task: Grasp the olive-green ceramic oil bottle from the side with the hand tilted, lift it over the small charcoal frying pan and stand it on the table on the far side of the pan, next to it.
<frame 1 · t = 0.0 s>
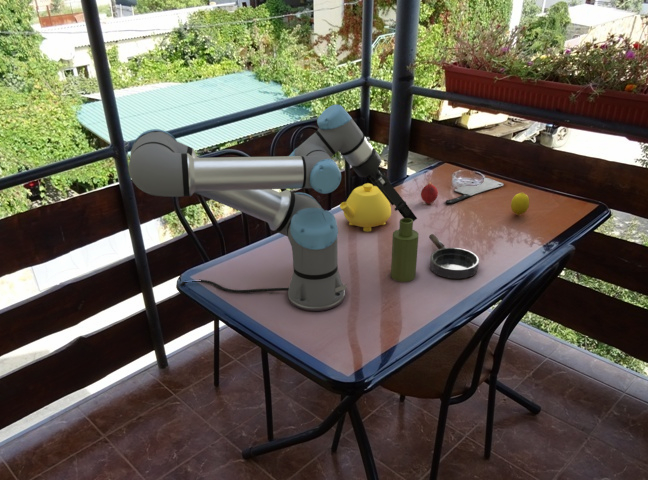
hand: (404, 211, 157), 15 cm above the table, tool tilted 35°, fingers open, 13 cm apart
onion: (428, 204, 198), on the table
pan: (453, 268, 159), on the table
oil bottle: (403, 275, 157), on the table
teapot: (362, 226, 186), on the table
lemon: (517, 215, 186), on the table
cleaver: (468, 191, 205), on the table
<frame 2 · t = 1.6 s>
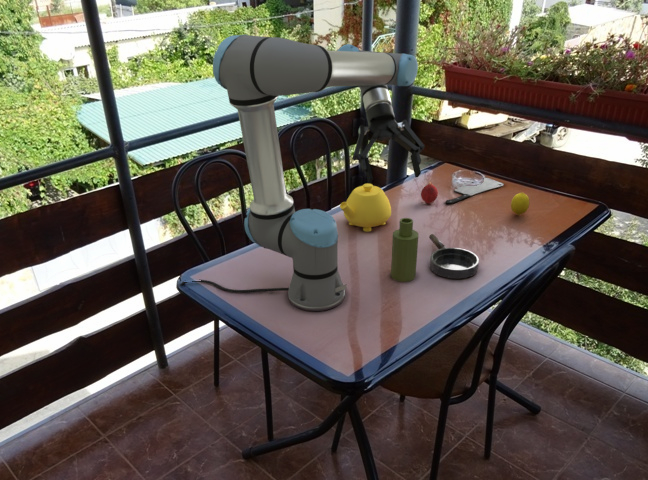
hand: (394, 178, 153), 25 cm above the table, tool tilted 45°, fingers open, 13 cm apart
nothing on the table moved.
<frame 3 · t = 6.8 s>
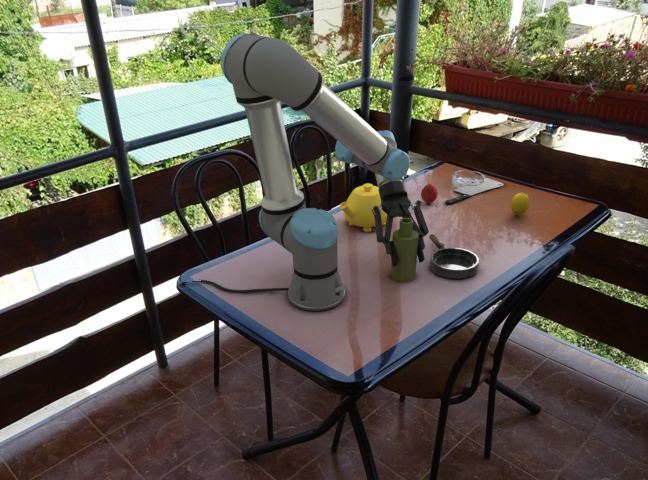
hand: (408, 263, 151), 6 cm above the table, tool tilted 45°, fingers closed on oil bottle, 7 cm apart
oil bottle: (403, 275, 157), on the table, touching gripper
everything else where it was.
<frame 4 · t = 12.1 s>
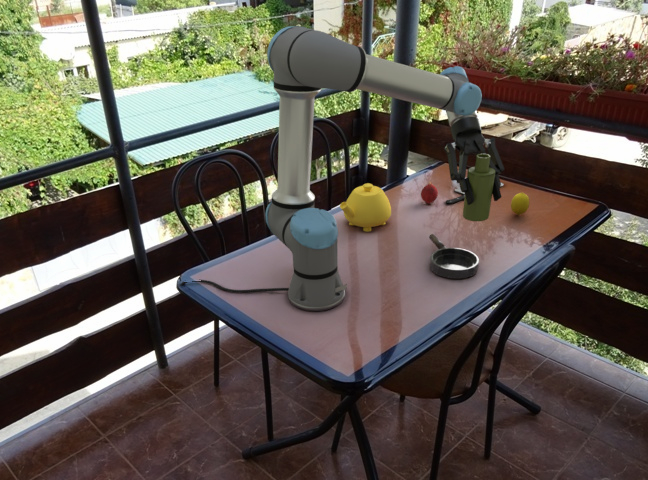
hand: (484, 200, 147), 21 cm above the table, tool tilted 45°, fingers closed on oil bottle, 7 cm apart
oil bottle: (475, 216, 153), point 15 cm above the table, touching gripper
everything else where it was.
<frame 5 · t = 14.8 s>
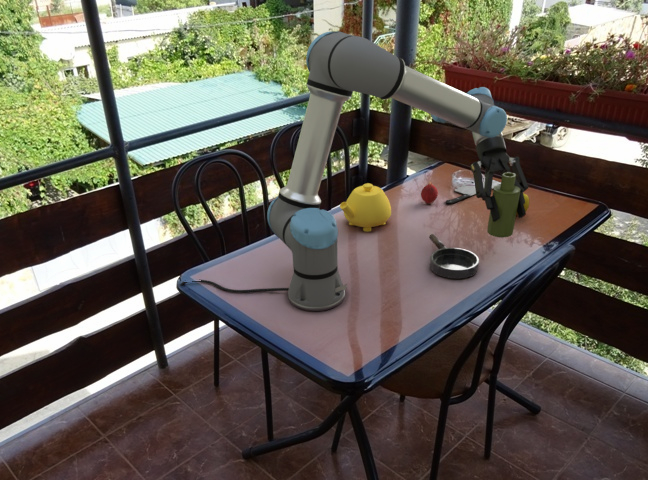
hand: (509, 217, 152), 14 cm above the table, tool tilted 45°, fingers closed on oil bottle, 7 cm apart
oil bottle: (499, 232, 158), point 8 cm above the table, touching gripper
everything else where it was.
when the fingers open (6 cm above the table, at t = 17.4 s): oil bottle stays where it is, on the table.
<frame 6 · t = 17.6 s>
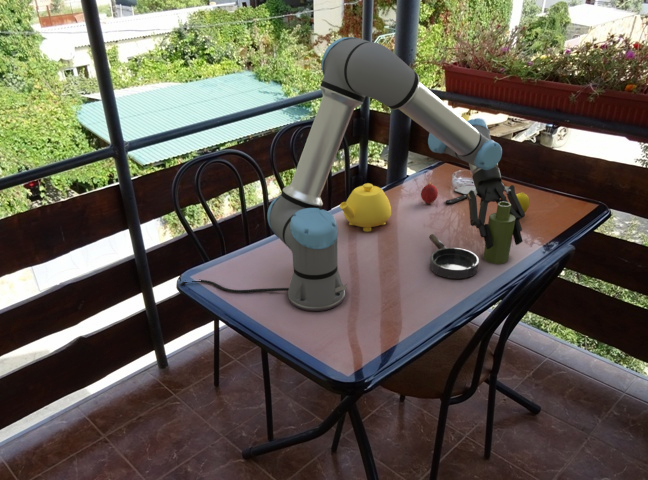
hand: (504, 245, 156), 6 cm above the table, tool tilted 45°, fingers open, 8 cm apart
oil bottle: (495, 258, 162), on the table
everything else where it was.
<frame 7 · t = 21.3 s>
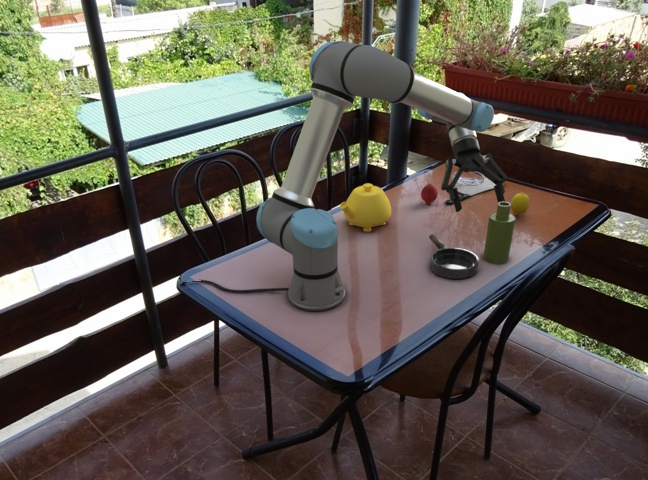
hand: (480, 207, 165), 12 cm above the table, tool tilted 45°, fingers open, 13 cm apart
nothing on the table moved.
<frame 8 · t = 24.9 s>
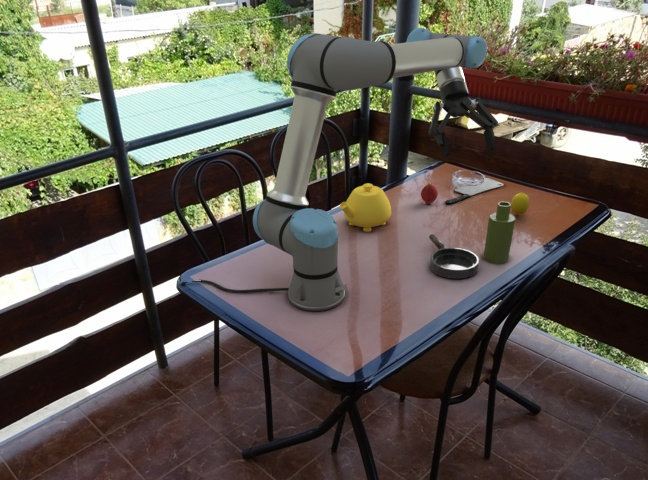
hand: (469, 153, 158), 28 cm above the table, tool tilted 45°, fingers open, 13 cm apart
nothing on the table moved.
at the end: oil bottle inside the target area (0.1 cm from its centre), on the table; oil bottle tilted 0°; oil bottle touching table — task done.
